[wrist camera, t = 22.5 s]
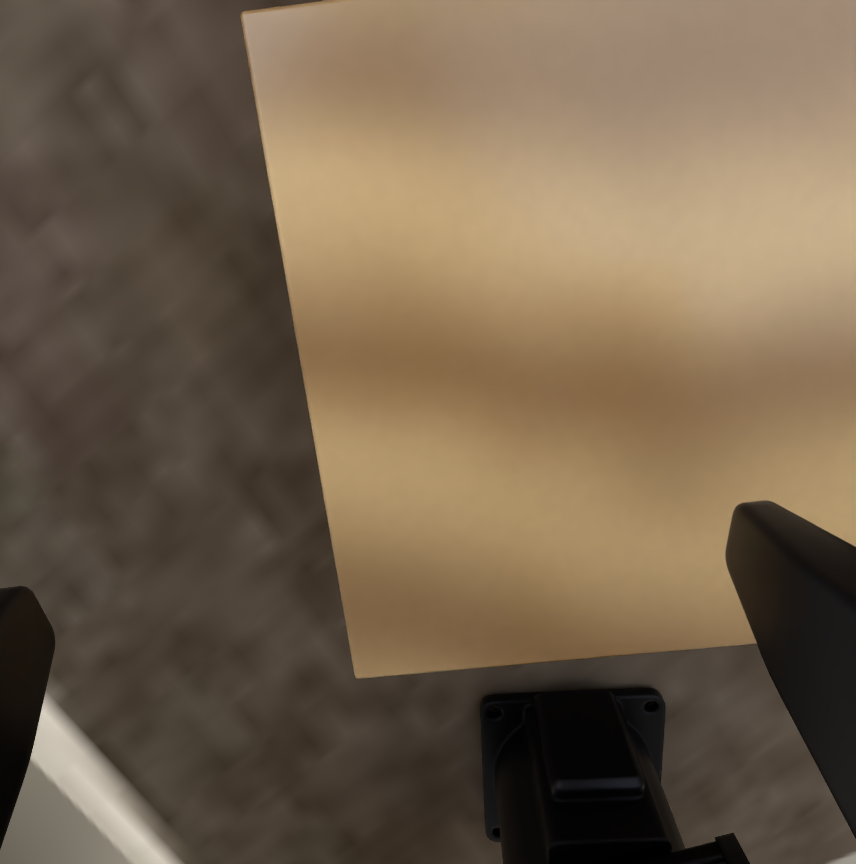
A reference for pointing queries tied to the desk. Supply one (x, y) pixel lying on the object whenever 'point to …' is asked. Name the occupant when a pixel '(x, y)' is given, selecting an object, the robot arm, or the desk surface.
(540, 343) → the cabinet
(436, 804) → the desk surface
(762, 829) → the desk surface
